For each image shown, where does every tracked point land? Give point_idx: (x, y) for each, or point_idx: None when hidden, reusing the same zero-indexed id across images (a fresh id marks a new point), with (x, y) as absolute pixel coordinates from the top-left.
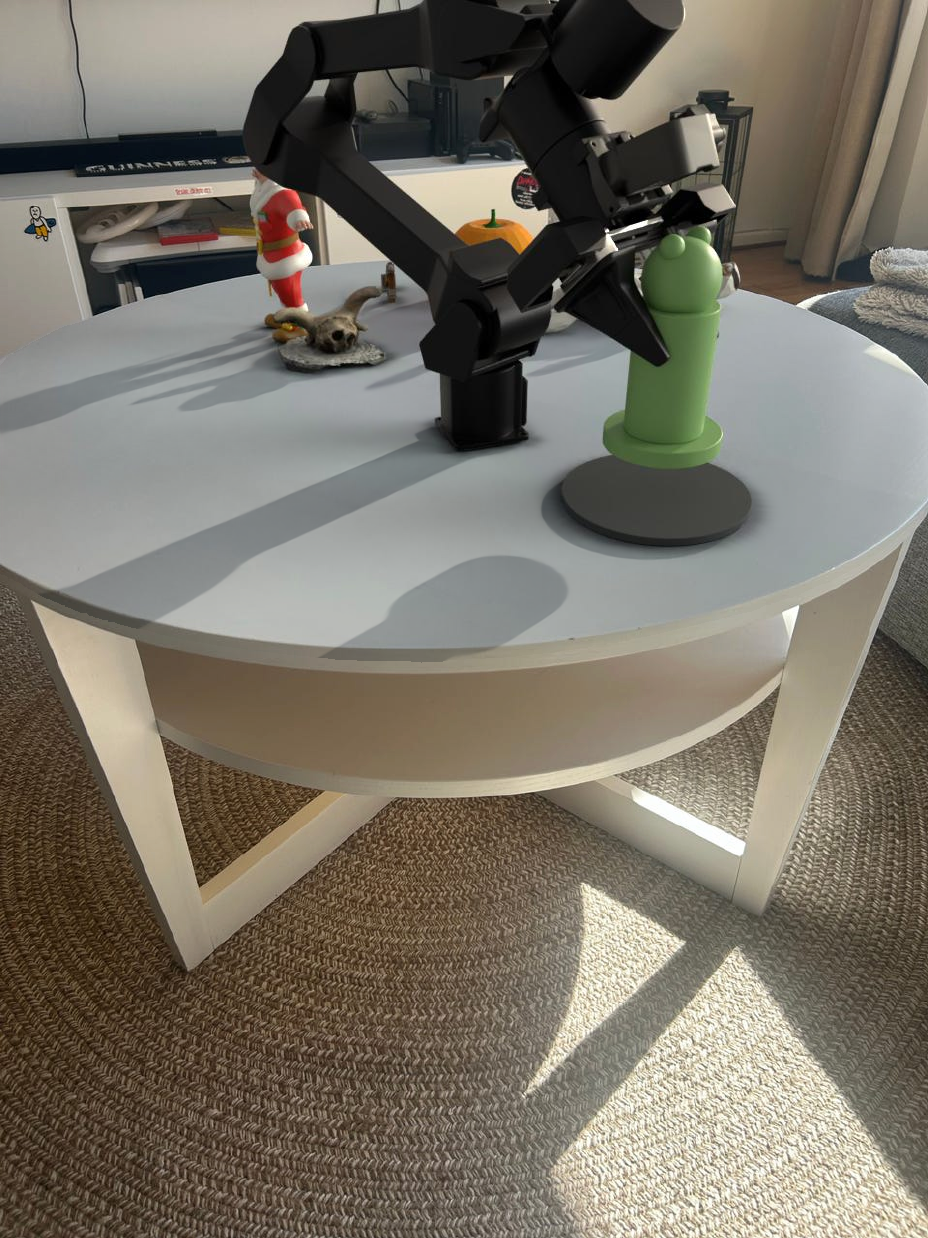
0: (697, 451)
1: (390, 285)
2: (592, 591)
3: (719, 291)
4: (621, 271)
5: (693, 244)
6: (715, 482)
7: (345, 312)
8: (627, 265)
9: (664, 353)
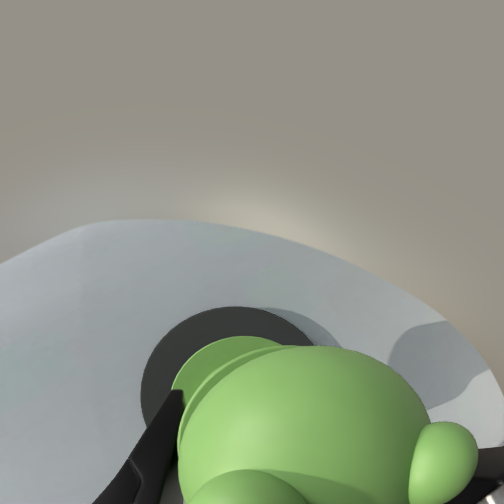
0: (269, 340)
1: None
2: (386, 328)
3: None
4: (493, 452)
5: (392, 437)
6: (174, 368)
7: None
8: (487, 462)
9: None
